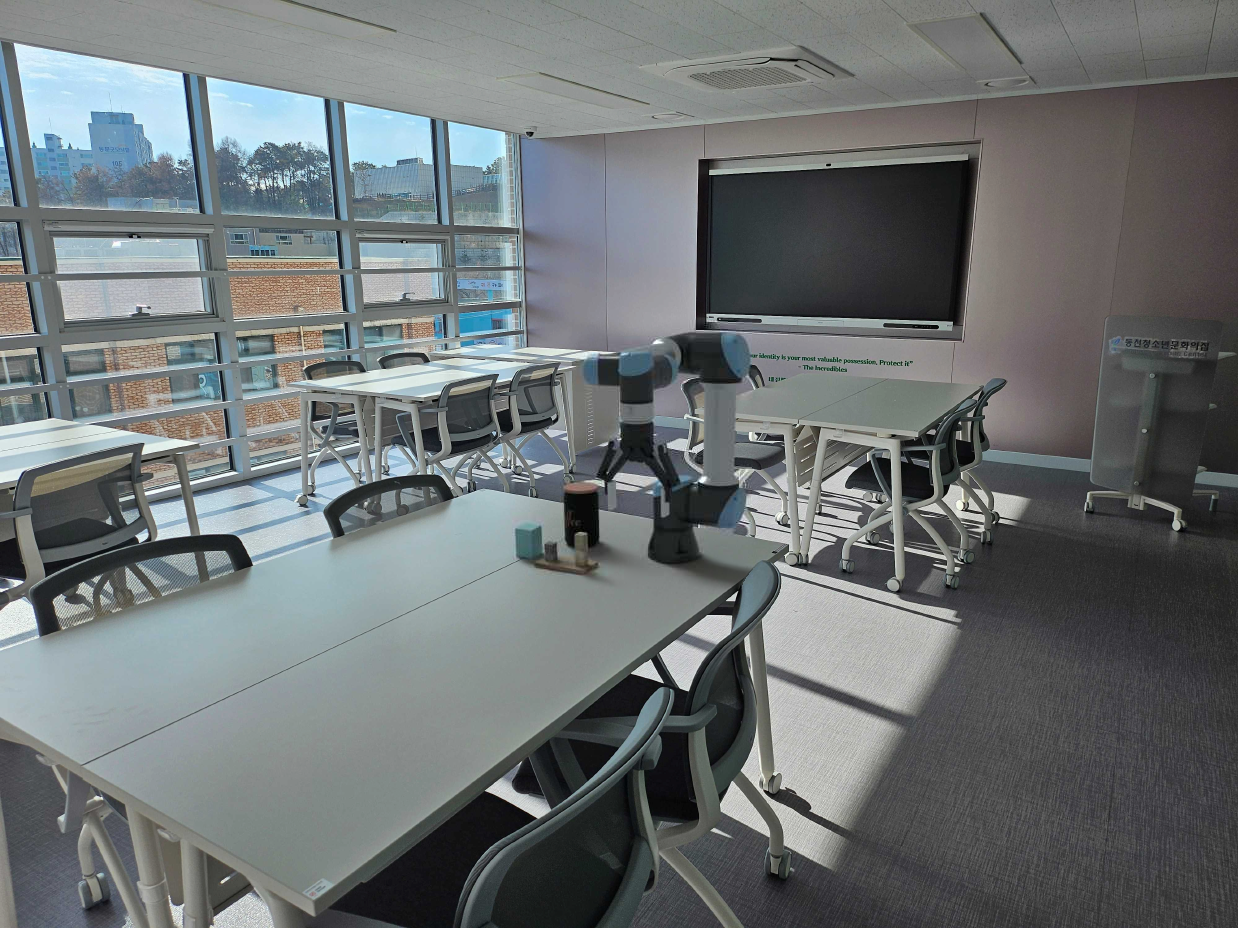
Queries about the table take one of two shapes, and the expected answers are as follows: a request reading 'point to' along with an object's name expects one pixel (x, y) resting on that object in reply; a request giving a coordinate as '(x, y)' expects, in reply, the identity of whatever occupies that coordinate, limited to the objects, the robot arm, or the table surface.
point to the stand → (568, 563)
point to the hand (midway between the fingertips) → (638, 512)
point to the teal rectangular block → (528, 540)
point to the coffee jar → (581, 512)
